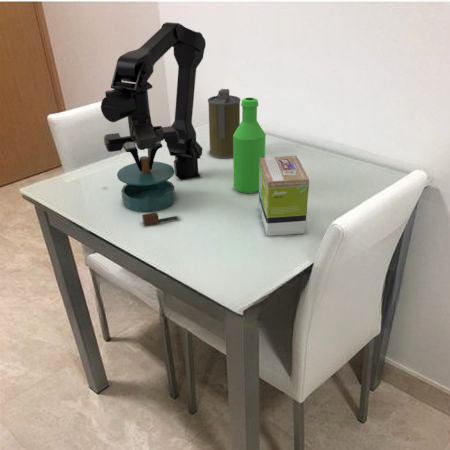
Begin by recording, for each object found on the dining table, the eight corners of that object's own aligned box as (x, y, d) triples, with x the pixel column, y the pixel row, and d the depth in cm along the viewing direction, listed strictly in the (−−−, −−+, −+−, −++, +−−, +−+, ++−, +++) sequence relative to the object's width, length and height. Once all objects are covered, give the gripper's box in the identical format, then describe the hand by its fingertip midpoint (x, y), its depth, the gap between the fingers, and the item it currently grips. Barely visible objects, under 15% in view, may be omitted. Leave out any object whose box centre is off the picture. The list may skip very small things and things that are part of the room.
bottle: (267, 184, 146) (270, 95, 131) (259, 196, 140) (261, 104, 125) (238, 180, 149) (238, 93, 134) (229, 192, 142) (228, 102, 127)
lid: (166, 161, 142) (164, 144, 139) (181, 182, 131) (179, 163, 128) (113, 169, 138) (110, 152, 135) (123, 191, 127) (120, 172, 124)
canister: (212, 146, 172) (210, 86, 160) (242, 148, 171) (242, 86, 159) (206, 158, 163) (204, 94, 151) (237, 159, 162) (237, 95, 150)
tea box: (257, 209, 133) (258, 156, 124) (294, 207, 134) (297, 154, 125) (265, 236, 121) (267, 180, 113) (306, 234, 122) (311, 177, 113)
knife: (176, 216, 131) (175, 208, 129) (178, 220, 129) (177, 211, 128) (143, 223, 128) (142, 214, 127) (144, 226, 127) (143, 218, 125)
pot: (167, 186, 146) (166, 174, 144) (180, 206, 135) (179, 194, 133) (119, 194, 143) (117, 182, 140) (128, 216, 132) (127, 203, 130)
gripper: (106, 124, 116) (116, 187, 125) (182, 115, 121) (186, 176, 130) (99, 111, 124) (109, 171, 133) (171, 103, 129) (175, 161, 138)
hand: (145, 170), depth 134 cm, fingers closed on lid, 2 cm apart
